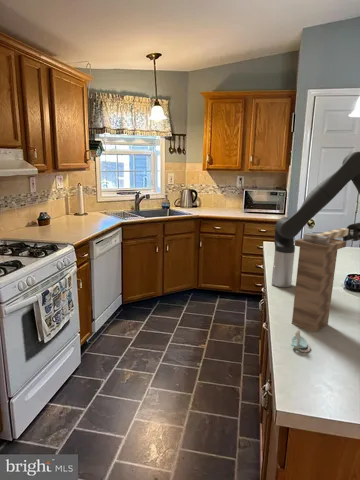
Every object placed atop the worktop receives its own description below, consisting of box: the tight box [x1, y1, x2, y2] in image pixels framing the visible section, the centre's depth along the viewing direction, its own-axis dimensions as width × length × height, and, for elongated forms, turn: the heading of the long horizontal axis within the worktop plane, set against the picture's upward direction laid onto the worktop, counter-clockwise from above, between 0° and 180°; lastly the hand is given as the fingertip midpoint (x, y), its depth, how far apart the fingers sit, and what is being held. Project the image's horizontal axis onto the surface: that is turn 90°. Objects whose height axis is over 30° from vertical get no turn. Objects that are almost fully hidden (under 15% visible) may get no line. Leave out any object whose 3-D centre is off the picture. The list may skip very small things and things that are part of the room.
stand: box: [291, 238, 347, 333], centre depth 127 cm, size 14×12×32 cm
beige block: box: [302, 227, 349, 245], centre depth 128 cm, size 24×8×2 cm, turn 131°
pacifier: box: [290, 328, 311, 353], centre depth 113 cm, size 7×6×6 cm
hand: (334, 237), depth 145 cm, fingers open, 8 cm apart
